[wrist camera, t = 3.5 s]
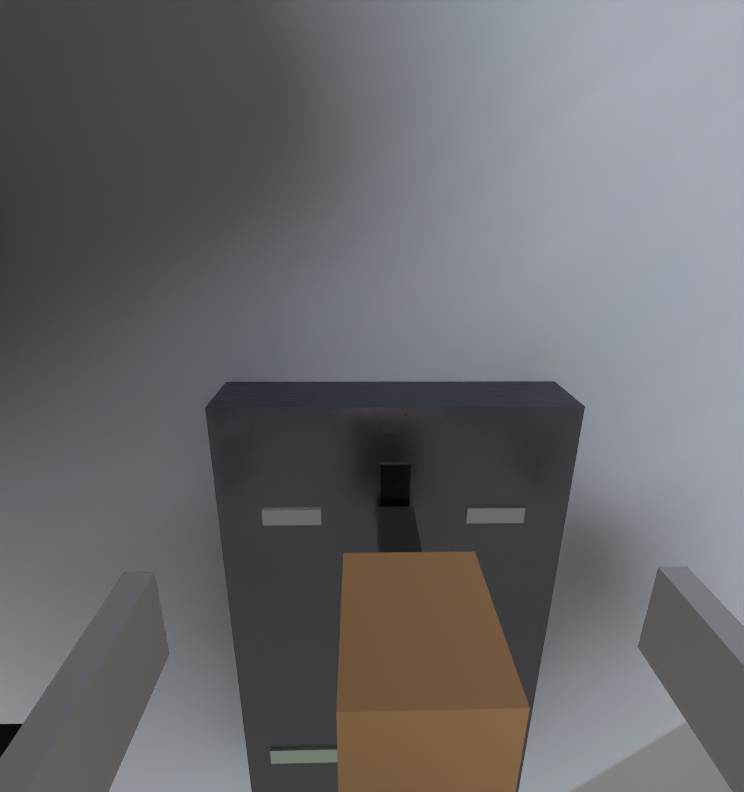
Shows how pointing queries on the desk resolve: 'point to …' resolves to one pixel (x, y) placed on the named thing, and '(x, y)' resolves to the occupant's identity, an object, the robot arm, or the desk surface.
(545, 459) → the panel
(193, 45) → the desk surface
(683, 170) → the desk surface
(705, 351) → the desk surface
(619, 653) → the desk surface
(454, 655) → the dimmer fader
